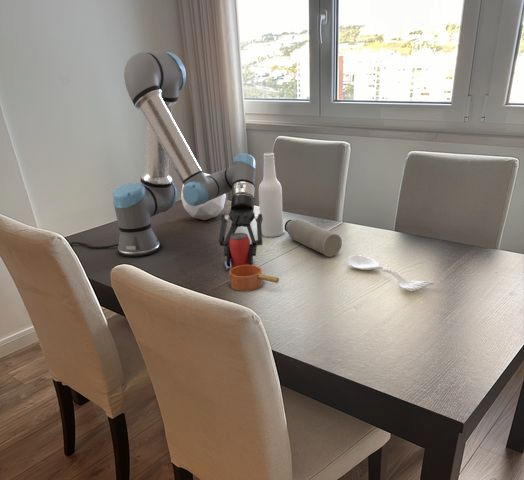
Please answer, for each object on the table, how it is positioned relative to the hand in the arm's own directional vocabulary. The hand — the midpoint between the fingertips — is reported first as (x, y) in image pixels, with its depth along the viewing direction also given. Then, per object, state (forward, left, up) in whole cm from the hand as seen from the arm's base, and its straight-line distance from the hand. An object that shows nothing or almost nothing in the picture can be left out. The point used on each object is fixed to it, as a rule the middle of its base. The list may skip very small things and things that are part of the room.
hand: (239, 264), depth 155 cm
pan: (+5, -4, -4) cm, 8 cm away
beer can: (-2, +3, -4) cm, 5 cm away
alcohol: (-15, +41, -4) cm, 44 cm away
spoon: (+41, +20, -4) cm, 46 cm away
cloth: (-7, +8, -4) cm, 11 cm away
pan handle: (+13, -4, -1) cm, 14 cm away
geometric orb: (-54, +47, -4) cm, 72 cm away
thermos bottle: (+18, +29, 0) cm, 35 cm away
